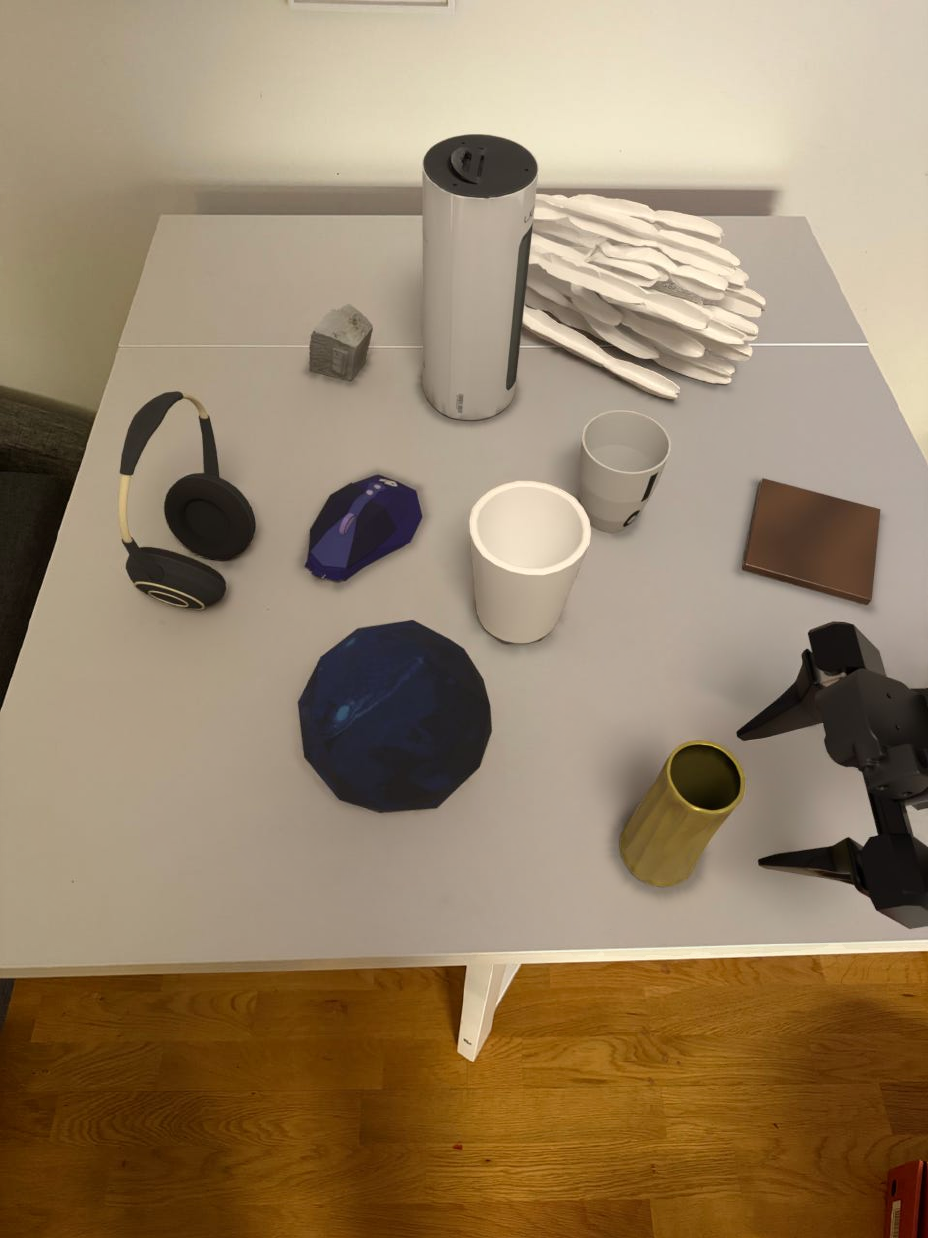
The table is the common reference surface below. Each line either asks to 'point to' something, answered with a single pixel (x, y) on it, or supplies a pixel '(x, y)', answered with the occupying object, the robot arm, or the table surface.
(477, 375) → the speaker
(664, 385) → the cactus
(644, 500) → the cup
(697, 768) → the vase
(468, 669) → the decorative orb
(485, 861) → the table surface
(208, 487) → the headphones
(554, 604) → the cup
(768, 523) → the serving board
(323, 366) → the grey stone block
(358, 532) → the computer mouse
